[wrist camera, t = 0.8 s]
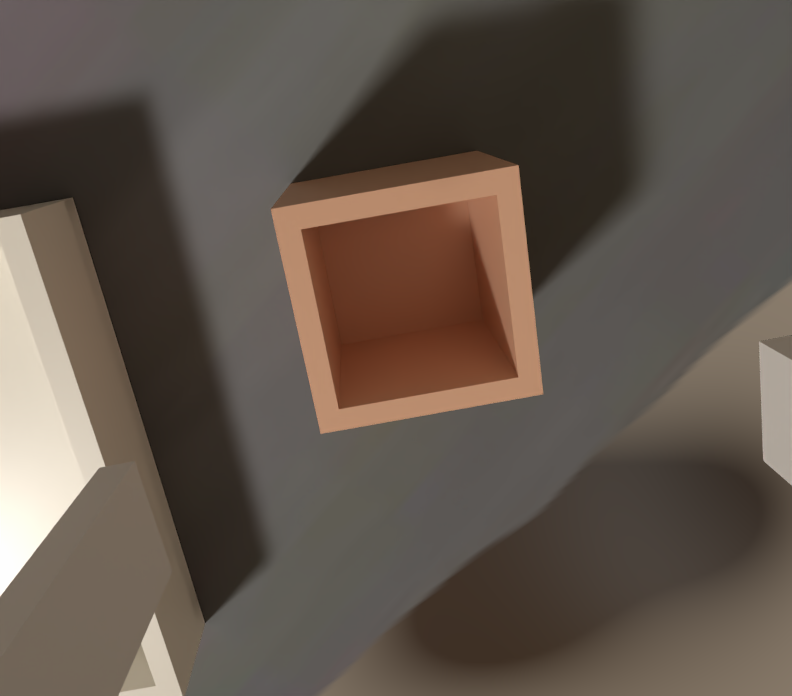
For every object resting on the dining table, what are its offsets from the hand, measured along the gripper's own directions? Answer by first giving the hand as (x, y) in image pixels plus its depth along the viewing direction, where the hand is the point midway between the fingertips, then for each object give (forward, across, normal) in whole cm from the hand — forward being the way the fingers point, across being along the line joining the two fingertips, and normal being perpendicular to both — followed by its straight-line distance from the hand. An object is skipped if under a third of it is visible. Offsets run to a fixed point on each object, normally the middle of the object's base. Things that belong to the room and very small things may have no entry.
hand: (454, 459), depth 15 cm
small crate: (+18, 0, +1) cm, 18 cm away
